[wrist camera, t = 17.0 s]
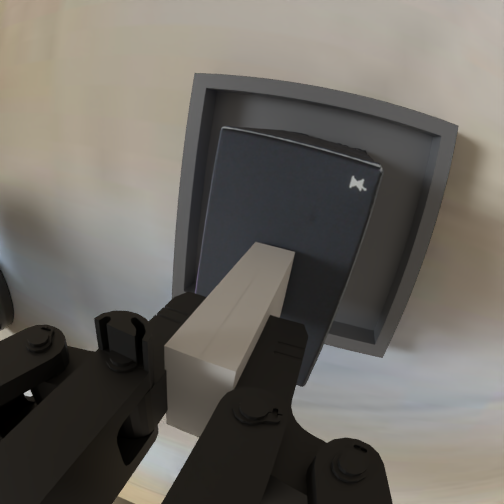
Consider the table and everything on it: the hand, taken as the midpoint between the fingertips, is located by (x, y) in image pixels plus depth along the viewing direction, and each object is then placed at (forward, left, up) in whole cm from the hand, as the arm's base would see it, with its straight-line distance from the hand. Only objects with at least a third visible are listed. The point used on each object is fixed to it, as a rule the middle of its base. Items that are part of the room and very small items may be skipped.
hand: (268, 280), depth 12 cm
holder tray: (0, 0, -11) cm, 11 cm away
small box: (0, 0, -11) cm, 11 cm away
